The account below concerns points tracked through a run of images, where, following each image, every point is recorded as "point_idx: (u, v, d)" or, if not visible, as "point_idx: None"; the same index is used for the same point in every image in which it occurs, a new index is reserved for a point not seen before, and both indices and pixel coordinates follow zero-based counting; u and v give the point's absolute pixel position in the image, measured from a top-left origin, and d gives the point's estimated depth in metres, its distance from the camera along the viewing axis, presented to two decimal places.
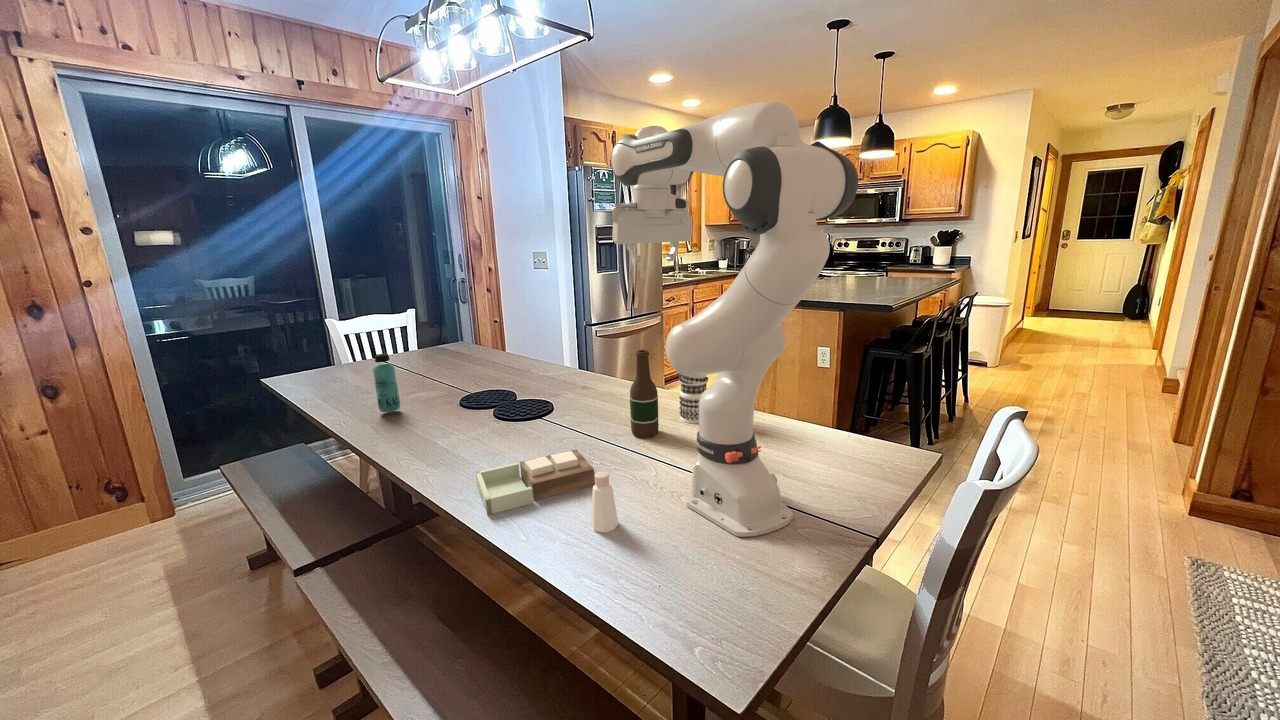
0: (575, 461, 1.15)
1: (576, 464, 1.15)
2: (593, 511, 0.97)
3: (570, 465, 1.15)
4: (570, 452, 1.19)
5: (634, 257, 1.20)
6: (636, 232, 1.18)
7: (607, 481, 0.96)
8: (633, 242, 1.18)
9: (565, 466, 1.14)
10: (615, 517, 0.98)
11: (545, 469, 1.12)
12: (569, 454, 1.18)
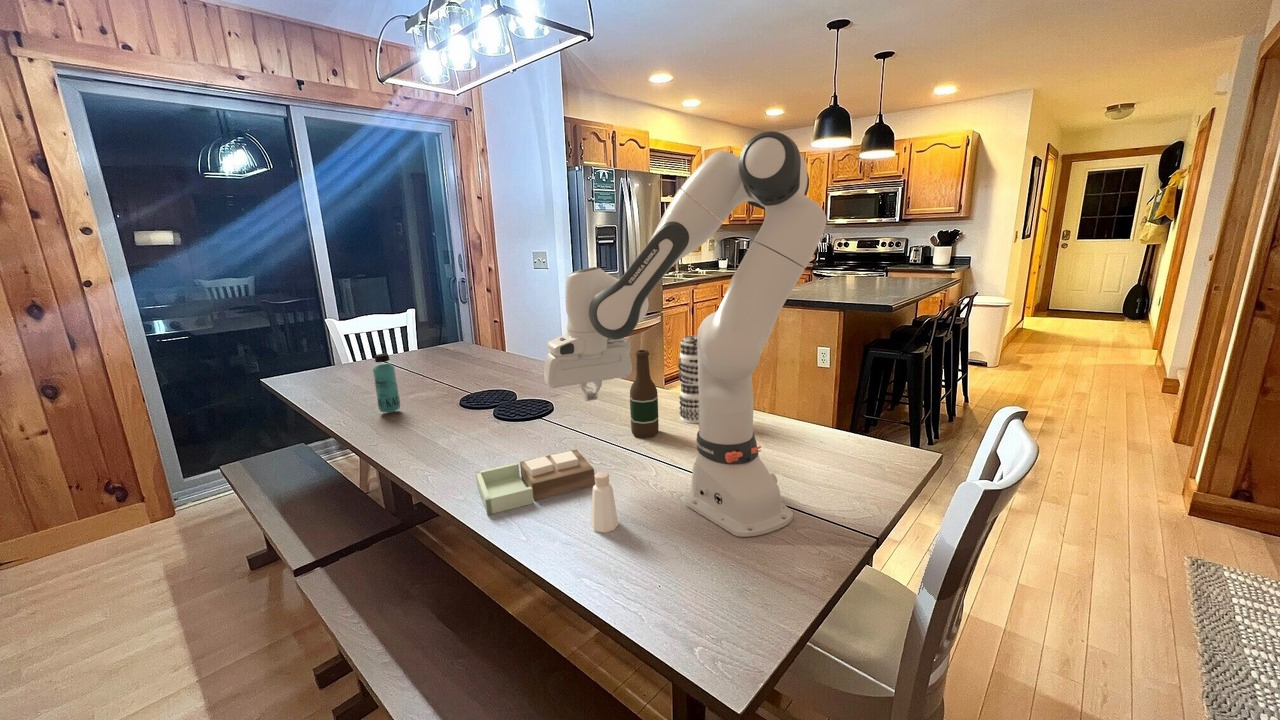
0: (575, 461, 1.15)
1: (576, 464, 1.15)
2: (593, 511, 0.97)
3: (570, 465, 1.15)
4: (570, 452, 1.19)
5: None
6: None
7: (607, 481, 0.96)
8: None
9: (565, 466, 1.14)
10: (615, 517, 0.98)
11: (545, 469, 1.12)
12: (569, 454, 1.18)
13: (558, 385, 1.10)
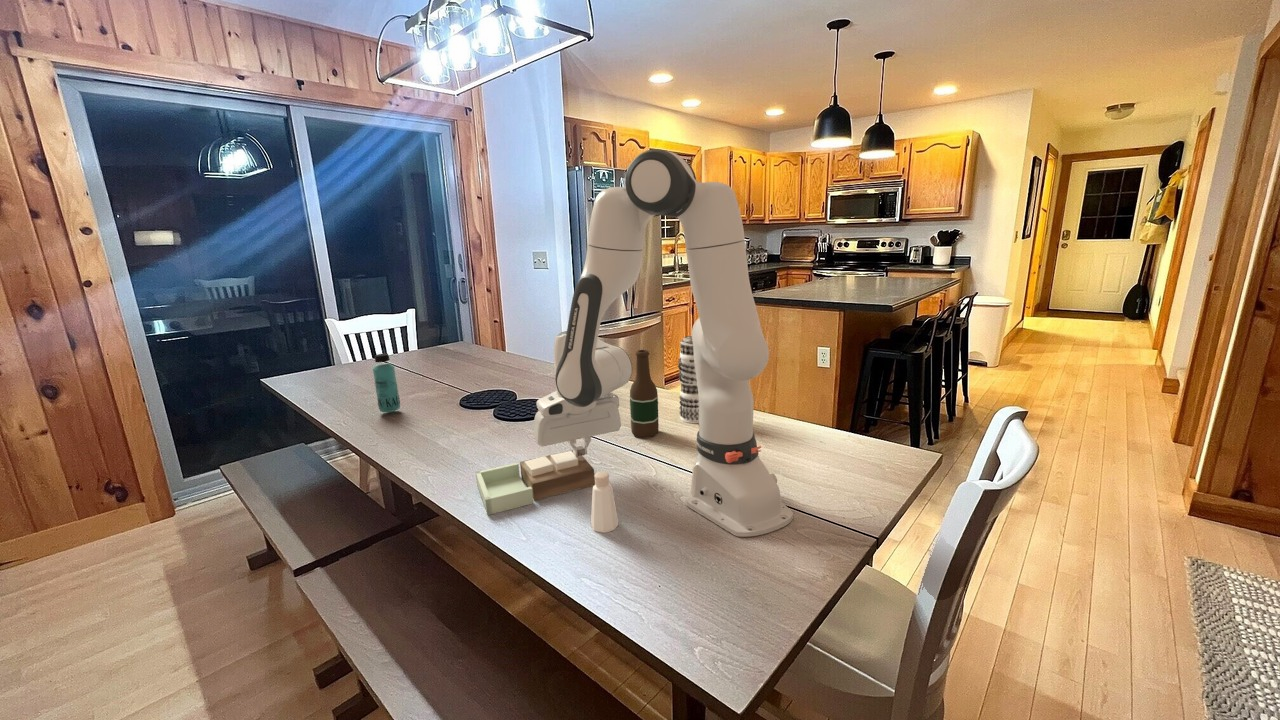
0: (575, 461, 1.15)
1: (576, 464, 1.15)
2: (593, 511, 0.97)
3: (570, 465, 1.15)
4: (570, 452, 1.19)
5: None
6: None
7: (607, 481, 0.96)
8: None
9: (565, 466, 1.14)
10: (615, 517, 0.98)
11: (545, 469, 1.12)
12: (569, 454, 1.18)
13: (547, 443, 1.12)
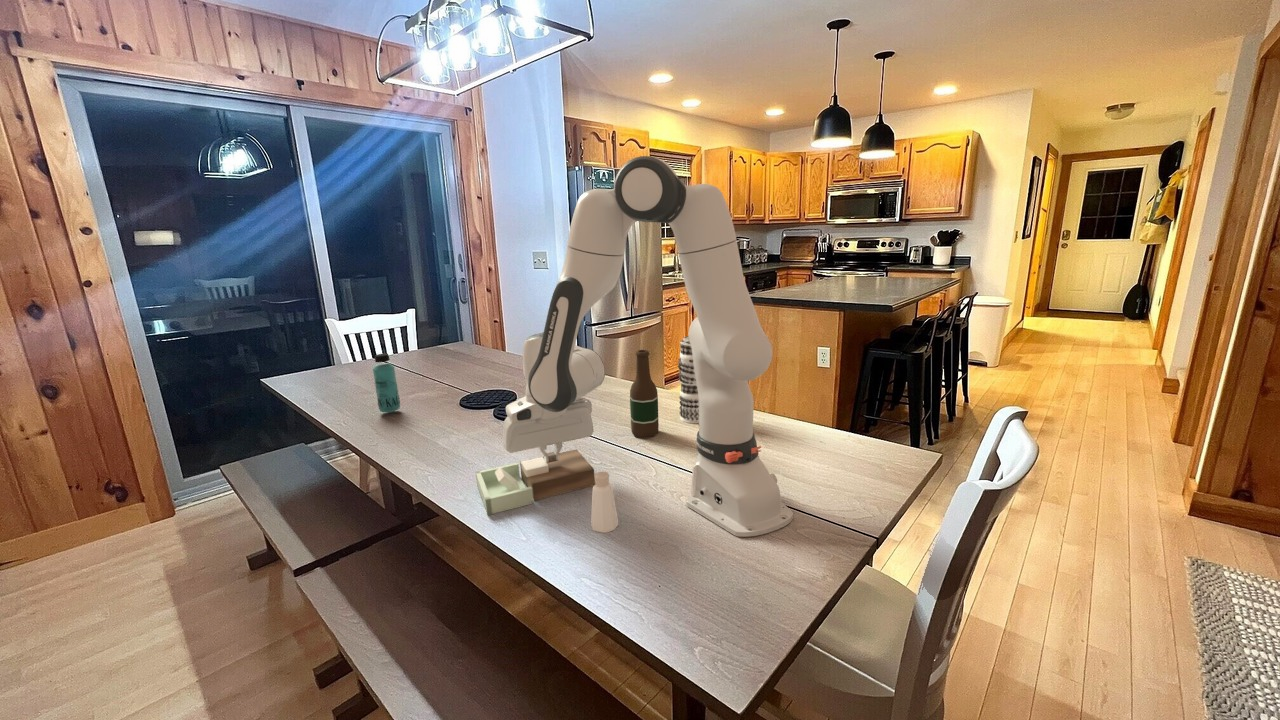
0: (545, 468, 1.12)
1: (546, 471, 1.13)
2: (593, 511, 0.97)
3: (540, 472, 1.12)
4: (541, 458, 1.16)
5: None
6: None
7: (607, 481, 0.96)
8: None
9: (535, 473, 1.12)
10: (615, 517, 0.98)
11: (507, 483, 1.09)
12: (540, 460, 1.15)
13: (516, 450, 1.09)
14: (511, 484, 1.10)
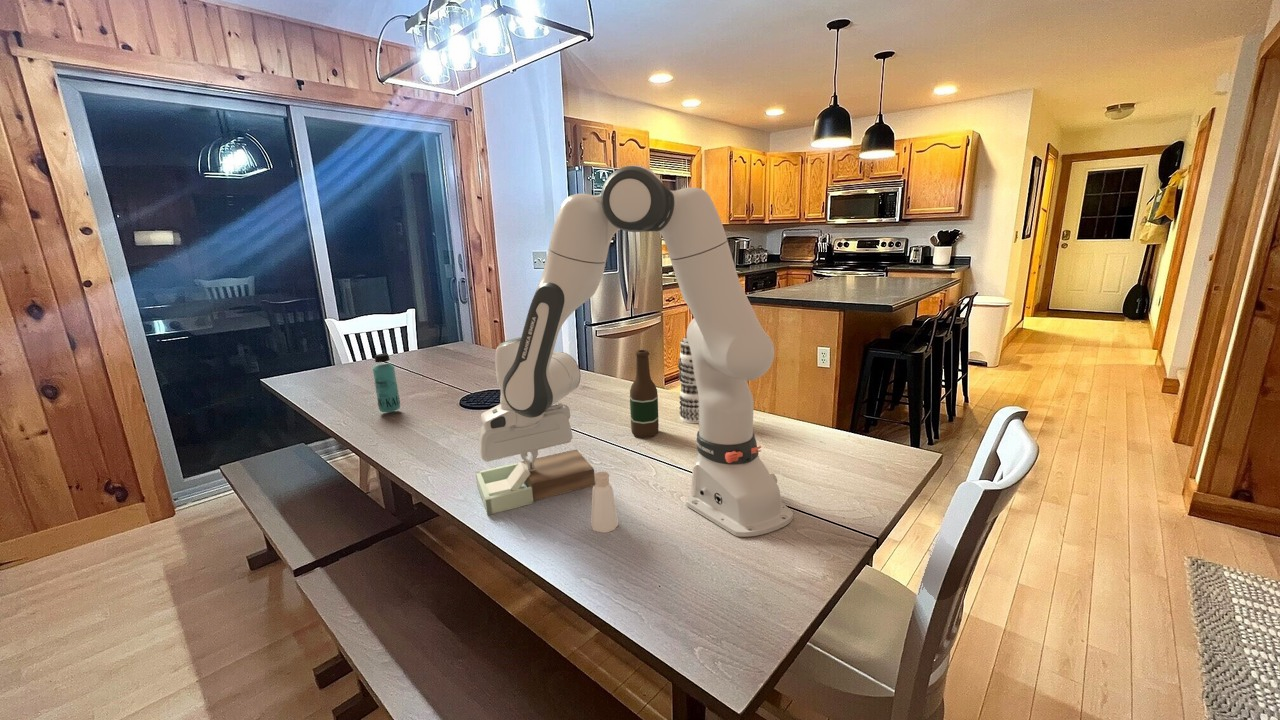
0: (524, 473, 1.11)
1: (528, 474, 1.11)
2: (593, 511, 0.97)
3: (523, 479, 1.11)
4: (519, 464, 1.14)
5: None
6: None
7: (607, 481, 0.96)
8: None
9: (520, 484, 1.11)
10: (615, 517, 0.98)
11: None
12: (519, 468, 1.13)
13: (492, 458, 1.08)
14: (500, 492, 1.09)
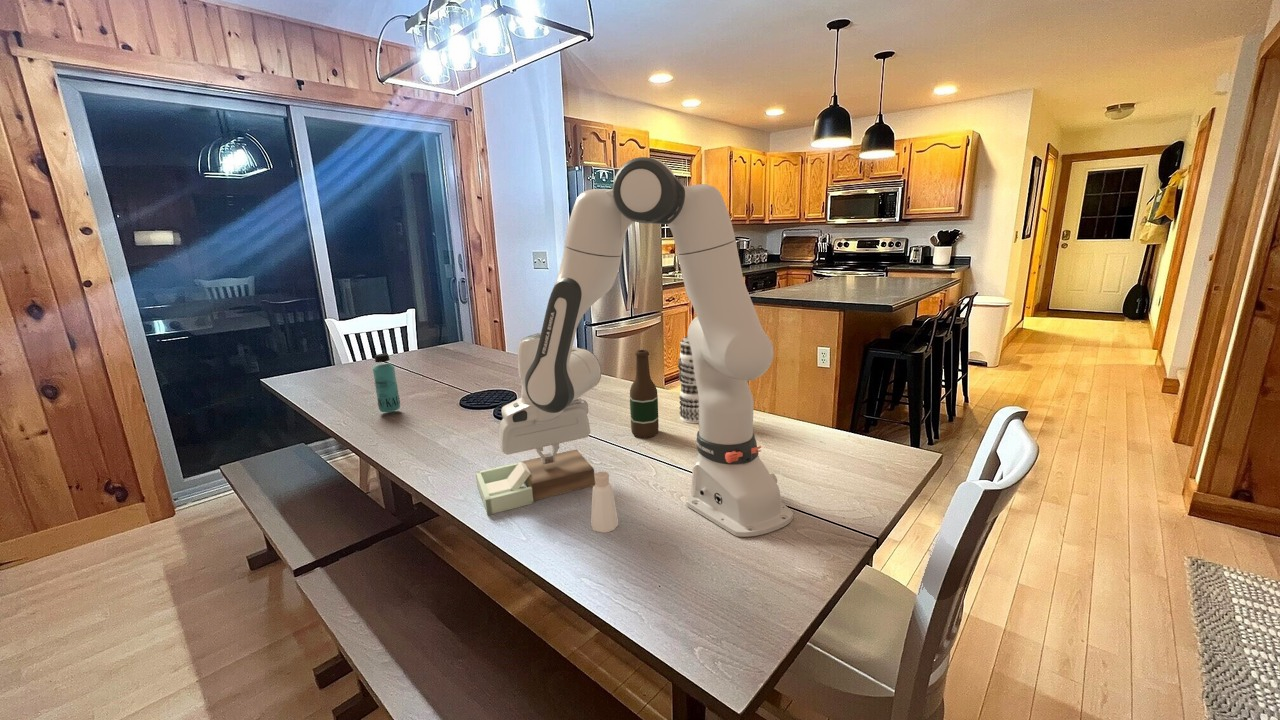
0: (525, 473, 1.11)
1: (528, 474, 1.11)
2: (593, 511, 0.97)
3: (524, 479, 1.11)
4: (519, 464, 1.14)
5: None
6: None
7: (607, 481, 0.96)
8: None
9: (520, 483, 1.11)
10: (615, 517, 0.98)
11: None
12: (519, 467, 1.13)
13: (513, 451, 1.09)
14: (500, 493, 1.09)
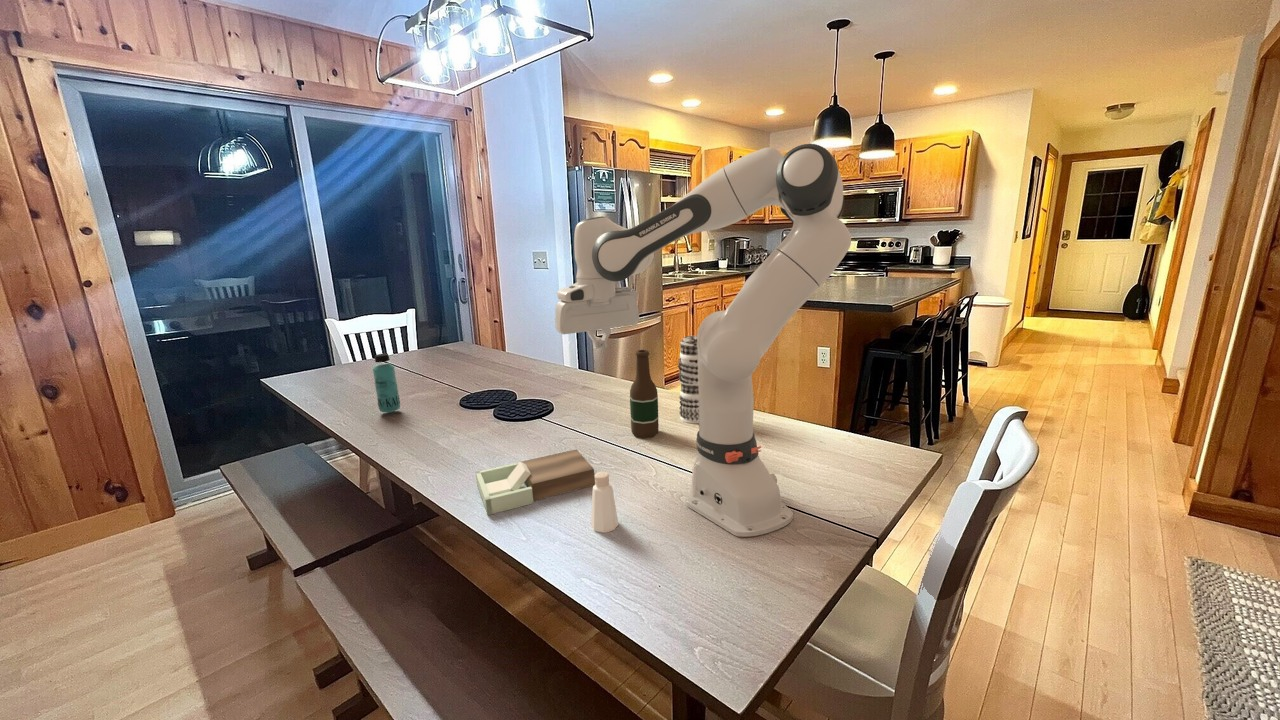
0: (525, 473, 1.11)
1: (528, 474, 1.11)
2: (593, 511, 0.97)
3: (524, 479, 1.11)
4: (519, 464, 1.14)
5: None
6: None
7: (607, 481, 0.96)
8: None
9: (520, 483, 1.11)
10: (615, 517, 0.98)
11: None
12: (519, 467, 1.13)
13: (569, 331, 1.15)
14: (500, 493, 1.09)
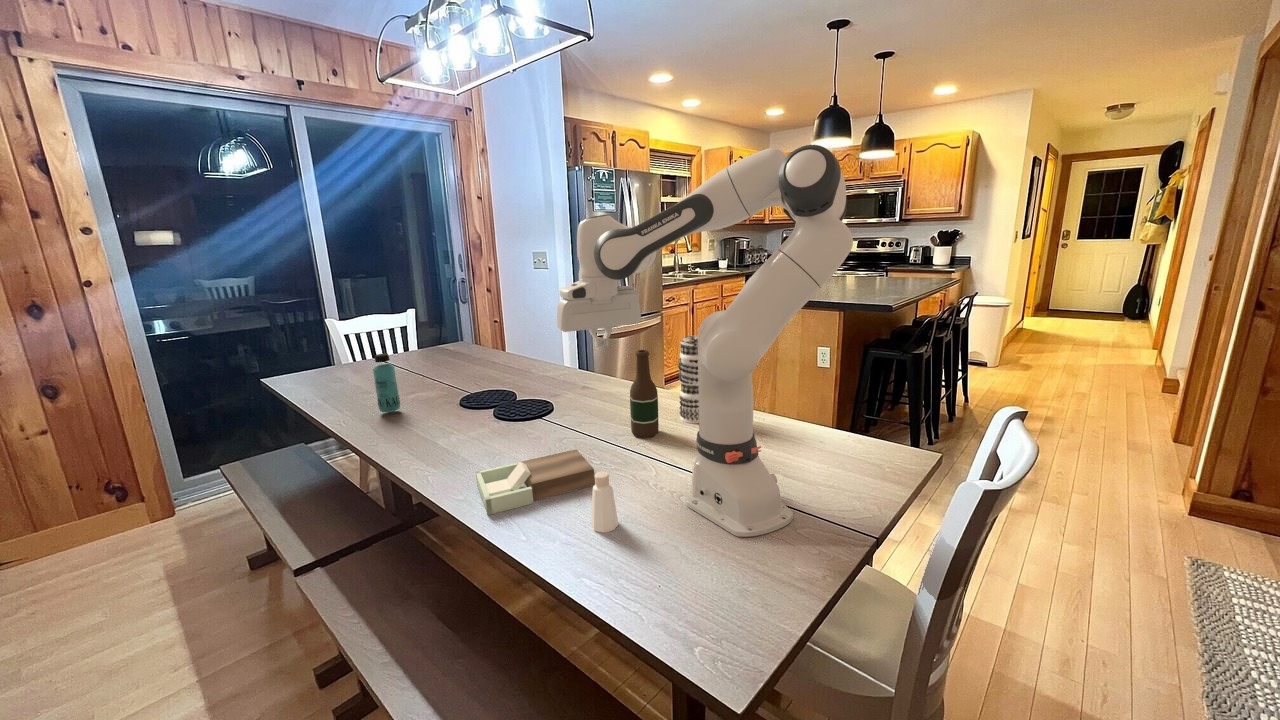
0: (525, 473, 1.11)
1: (528, 474, 1.11)
2: (593, 511, 0.97)
3: (524, 479, 1.11)
4: (519, 464, 1.14)
5: None
6: None
7: (607, 481, 0.96)
8: None
9: (520, 483, 1.11)
10: (615, 517, 0.98)
11: None
12: (519, 467, 1.13)
13: (570, 329, 1.15)
14: (500, 493, 1.09)
